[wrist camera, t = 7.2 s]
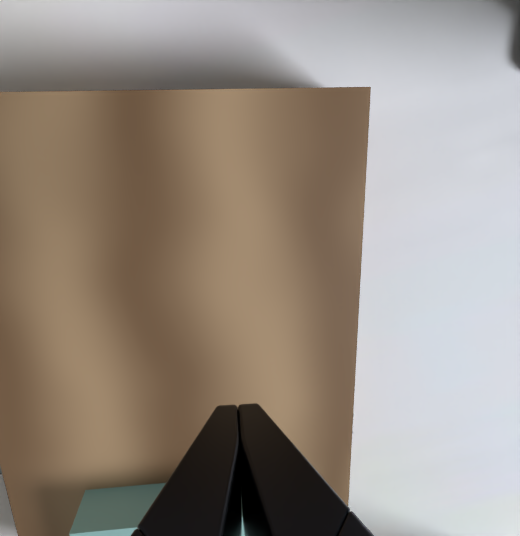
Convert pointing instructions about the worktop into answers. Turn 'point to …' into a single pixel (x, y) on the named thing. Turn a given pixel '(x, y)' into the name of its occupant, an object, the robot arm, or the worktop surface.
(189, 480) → the robot arm
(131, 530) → the teal rectangular block
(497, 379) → the worktop surface
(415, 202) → the worktop surface
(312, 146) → the deck
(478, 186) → the worktop surface
